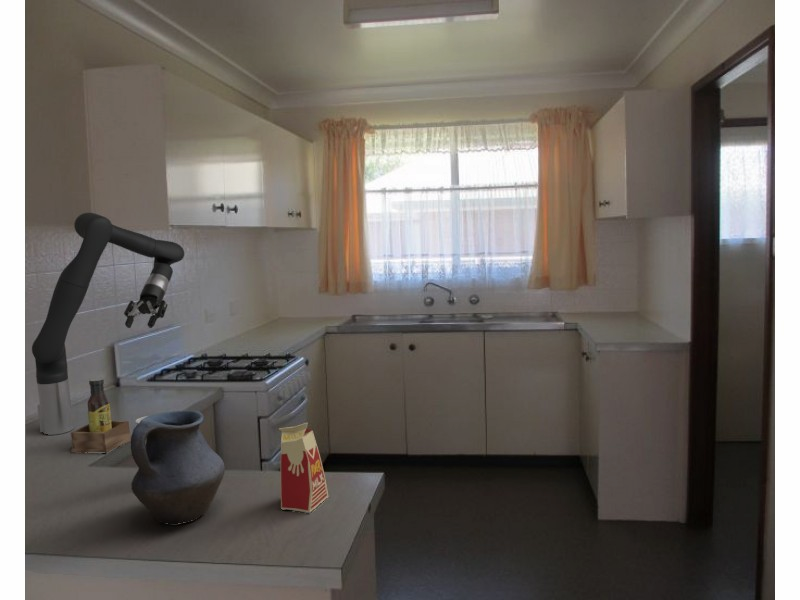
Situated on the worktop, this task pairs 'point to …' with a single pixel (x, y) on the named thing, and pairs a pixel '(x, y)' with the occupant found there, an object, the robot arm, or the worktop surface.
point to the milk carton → (301, 470)
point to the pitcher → (174, 466)
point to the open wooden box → (100, 438)
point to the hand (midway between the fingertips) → (138, 326)
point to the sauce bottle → (98, 407)
